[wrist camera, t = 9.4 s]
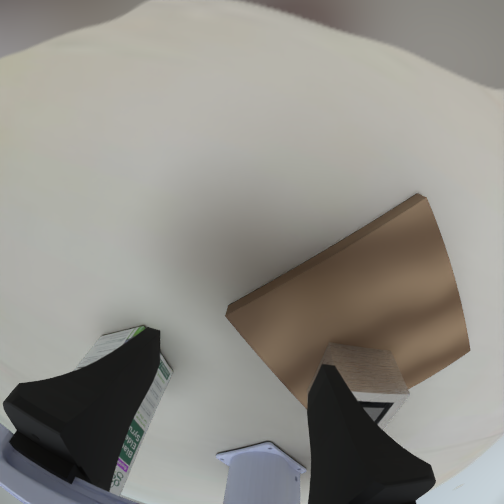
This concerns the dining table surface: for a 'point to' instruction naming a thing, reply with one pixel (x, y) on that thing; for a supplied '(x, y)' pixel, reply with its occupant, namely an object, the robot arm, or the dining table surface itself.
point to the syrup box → (145, 410)
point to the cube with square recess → (368, 377)
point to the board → (362, 302)
